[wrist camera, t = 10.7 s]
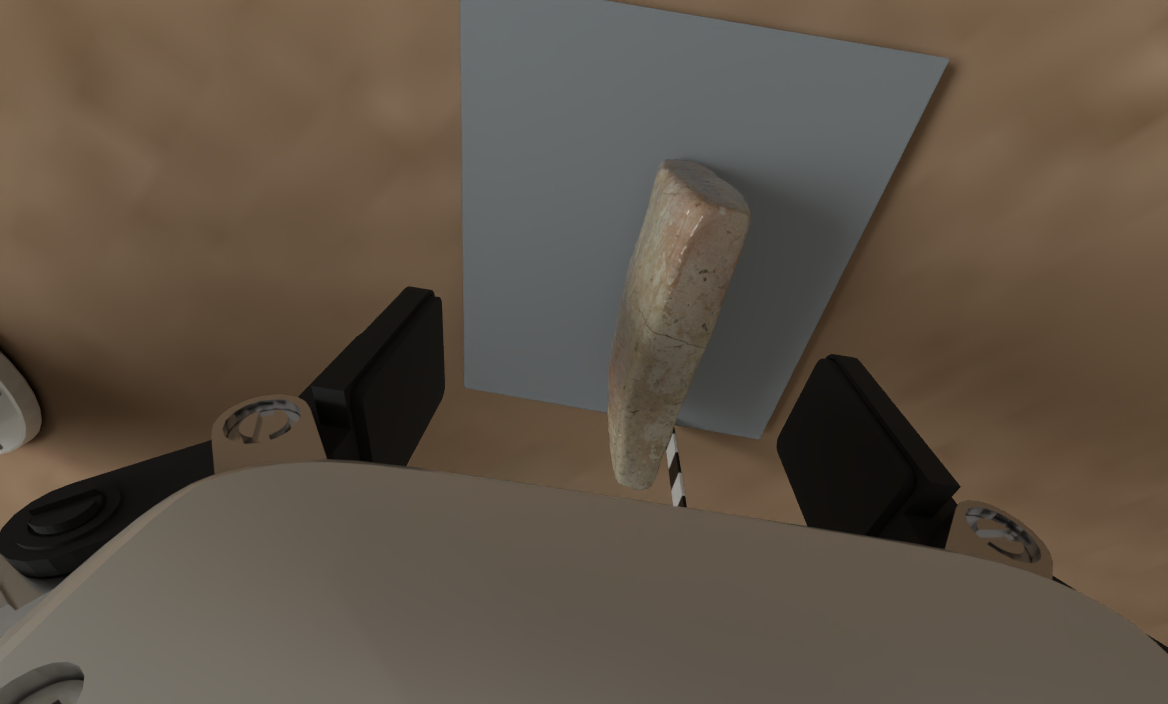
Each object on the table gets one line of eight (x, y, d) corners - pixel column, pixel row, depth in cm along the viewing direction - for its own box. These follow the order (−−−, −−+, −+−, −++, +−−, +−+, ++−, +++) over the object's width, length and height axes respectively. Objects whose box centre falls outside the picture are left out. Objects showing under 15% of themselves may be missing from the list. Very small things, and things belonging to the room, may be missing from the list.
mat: (469, 377, 22) (464, 387, 21) (468, -21, 13) (459, -25, 13) (755, 428, 21) (759, 439, 21) (934, 58, 13) (950, 58, 13)
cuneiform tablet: (680, 543, 16) (829, 224, 10) (579, 527, 16) (660, 194, 10) (666, 432, 21) (759, 169, 15) (587, 420, 21) (645, 149, 15)
